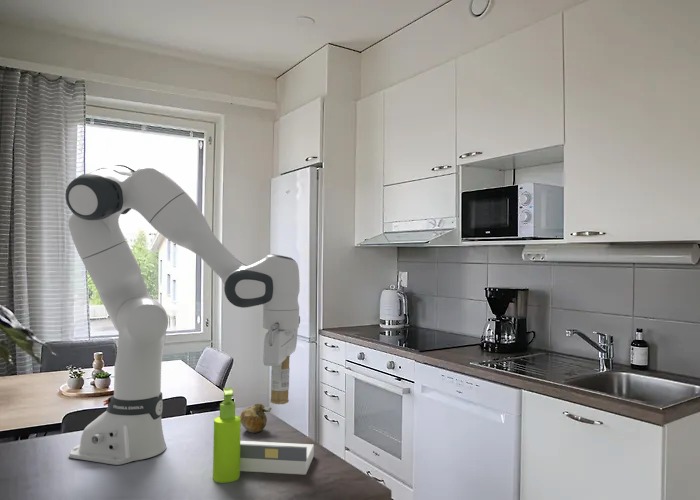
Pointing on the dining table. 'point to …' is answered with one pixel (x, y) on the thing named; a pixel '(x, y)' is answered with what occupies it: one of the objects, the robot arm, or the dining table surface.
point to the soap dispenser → (226, 441)
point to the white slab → (275, 457)
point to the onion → (254, 418)
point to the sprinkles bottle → (281, 383)
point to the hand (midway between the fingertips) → (280, 377)
